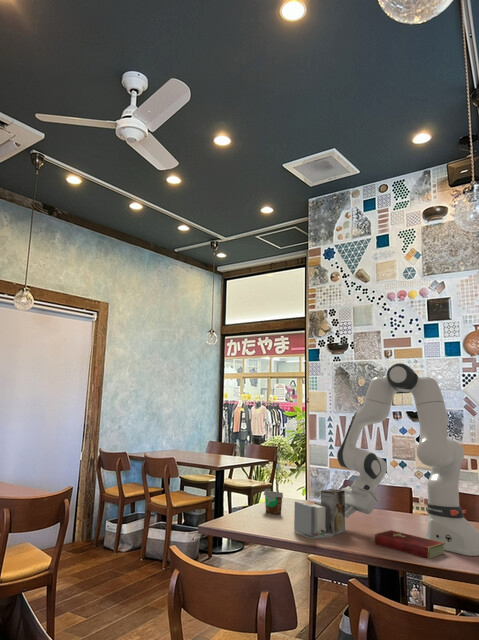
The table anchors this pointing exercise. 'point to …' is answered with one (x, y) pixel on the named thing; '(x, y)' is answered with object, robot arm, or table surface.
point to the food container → (273, 502)
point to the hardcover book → (409, 544)
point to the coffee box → (335, 509)
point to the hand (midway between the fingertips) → (344, 516)
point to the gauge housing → (306, 521)
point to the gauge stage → (321, 517)
